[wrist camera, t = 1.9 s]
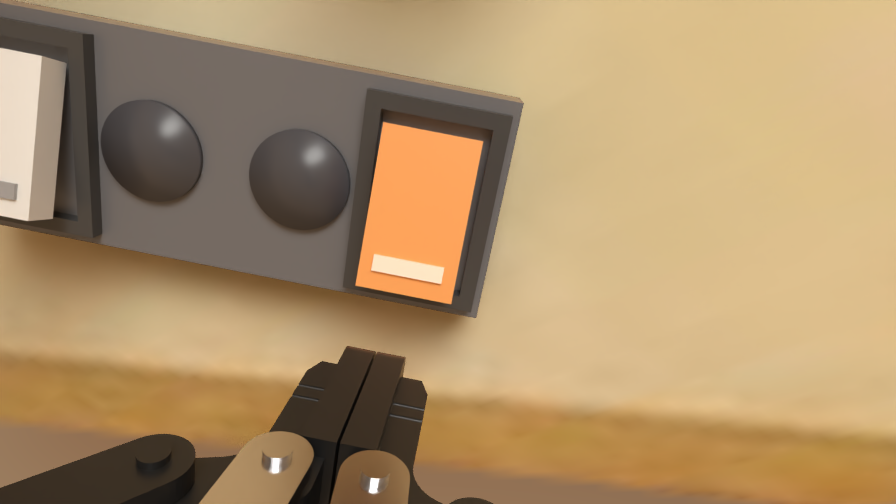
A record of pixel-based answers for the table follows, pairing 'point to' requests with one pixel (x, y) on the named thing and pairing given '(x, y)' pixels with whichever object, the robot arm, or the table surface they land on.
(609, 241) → the table surface
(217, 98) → the rocker switch panel
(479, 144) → the rocker orange
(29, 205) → the rocker white
